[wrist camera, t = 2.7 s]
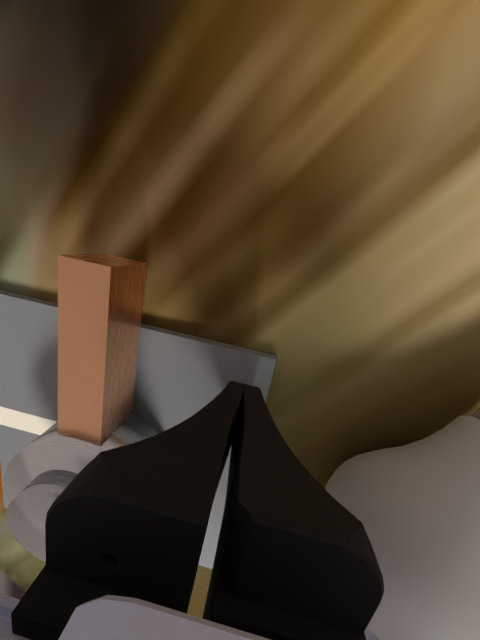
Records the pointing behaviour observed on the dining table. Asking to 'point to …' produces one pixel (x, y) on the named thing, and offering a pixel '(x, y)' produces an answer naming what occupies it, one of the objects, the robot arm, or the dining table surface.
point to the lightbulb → (421, 530)
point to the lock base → (149, 393)
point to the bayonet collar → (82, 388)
